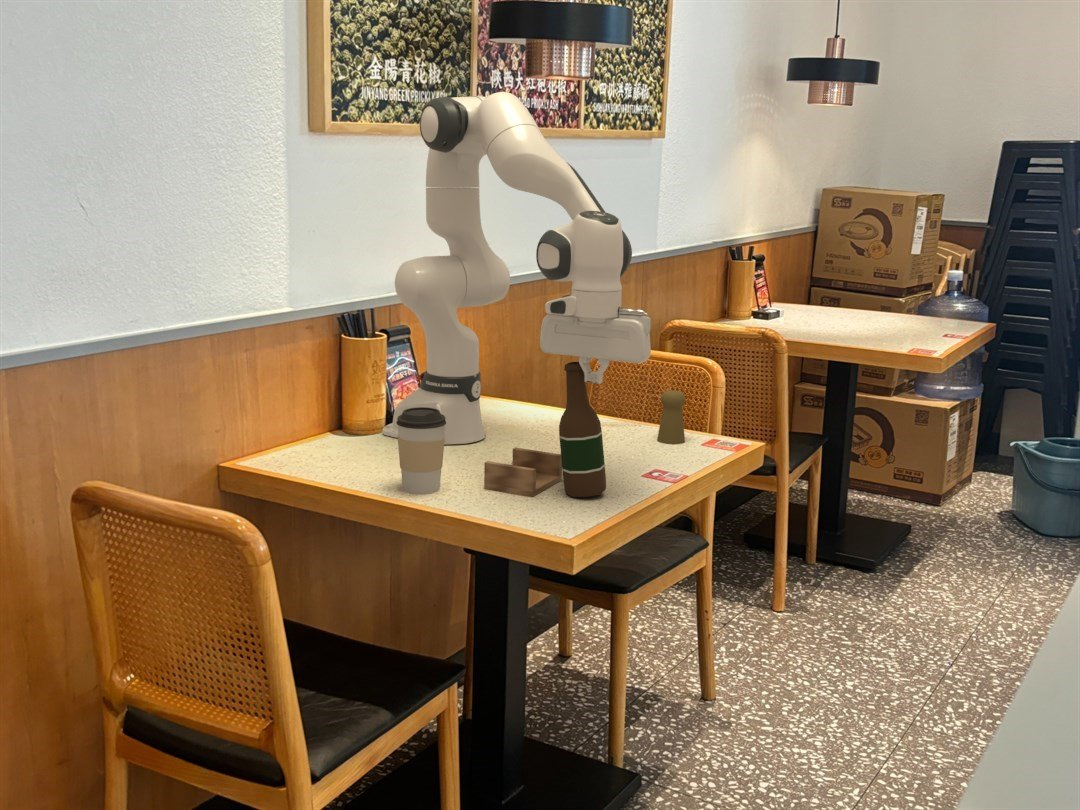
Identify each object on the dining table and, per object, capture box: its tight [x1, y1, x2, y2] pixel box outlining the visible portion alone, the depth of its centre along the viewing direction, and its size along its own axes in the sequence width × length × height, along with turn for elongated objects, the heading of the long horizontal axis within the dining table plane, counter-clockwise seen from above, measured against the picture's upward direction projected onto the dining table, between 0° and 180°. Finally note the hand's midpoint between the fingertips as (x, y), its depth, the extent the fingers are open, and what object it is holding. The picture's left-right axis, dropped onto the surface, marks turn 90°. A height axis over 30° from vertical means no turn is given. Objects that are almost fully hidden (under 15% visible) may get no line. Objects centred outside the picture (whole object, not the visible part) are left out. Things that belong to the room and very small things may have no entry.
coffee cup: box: [396, 407, 446, 495], centre depth 210 cm, size 9×9×15 cm
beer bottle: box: [558, 361, 607, 498], centre depth 208 cm, size 8×8×24 cm
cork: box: [656, 389, 686, 445], centre depth 248 cm, size 6×6×11 cm
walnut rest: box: [483, 447, 563, 498], centre depth 215 cm, size 10×12×5 cm
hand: (593, 382), depth 205 cm, fingers closed
